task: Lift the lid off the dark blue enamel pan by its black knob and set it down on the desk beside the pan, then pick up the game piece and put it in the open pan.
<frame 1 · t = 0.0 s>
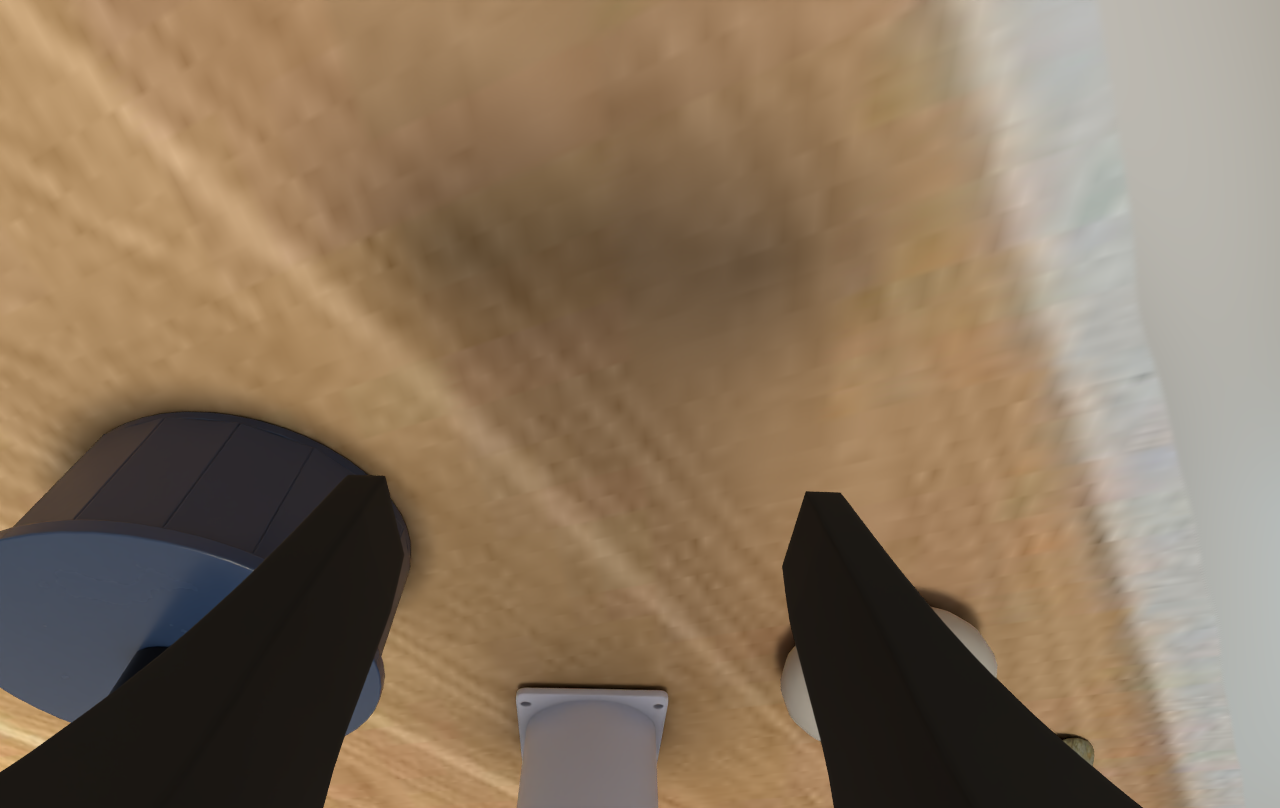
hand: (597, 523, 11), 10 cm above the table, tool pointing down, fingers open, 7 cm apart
donut: (873, 645, 32), on the table
pan lid: (182, 651, 22), point 5 cm above the table, touching pan
soupspoon: (917, 789, 43), on the table
pan: (254, 530, 26), on the table
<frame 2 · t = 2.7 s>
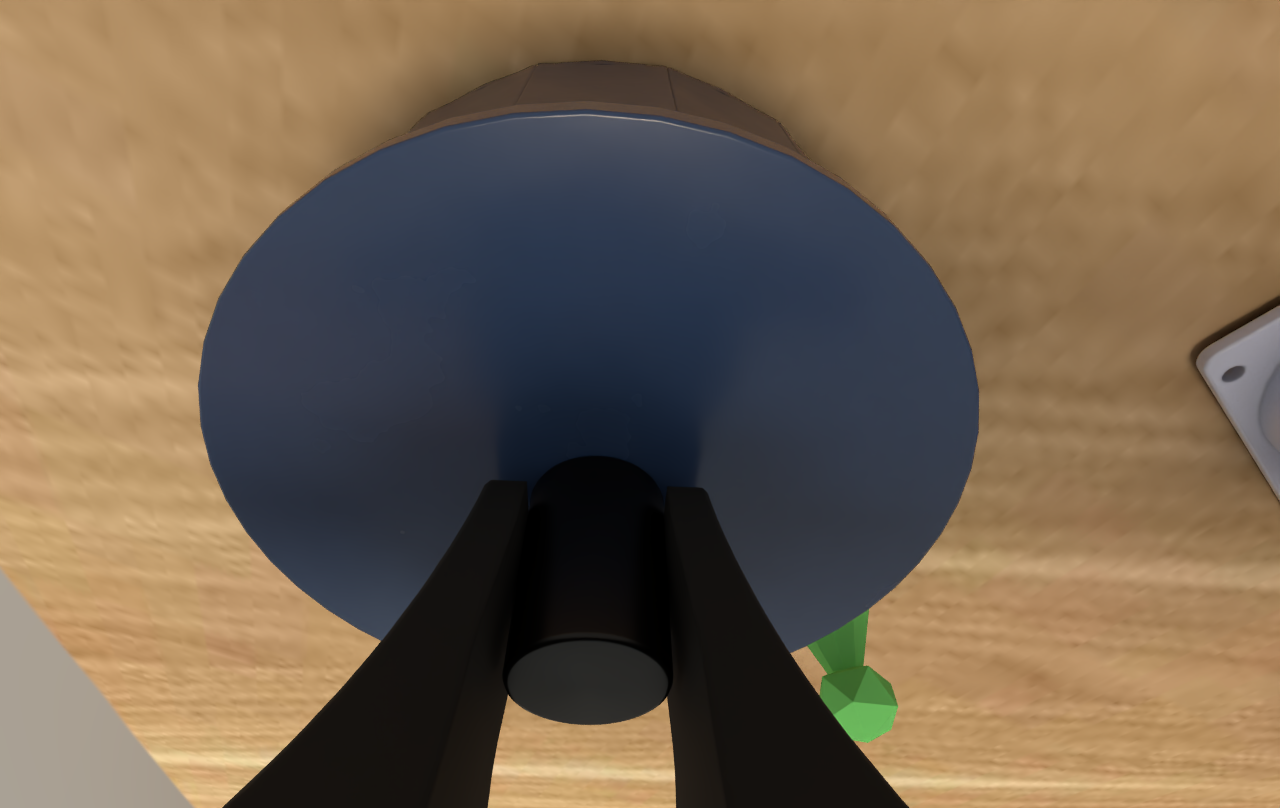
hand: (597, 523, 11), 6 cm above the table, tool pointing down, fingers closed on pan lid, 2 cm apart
game piece: (814, 559, 22), on the table
pan lid: (598, 482, 12), point 5 cm above the table, touching gripper, pan
pan: (606, 331, 16), on the table
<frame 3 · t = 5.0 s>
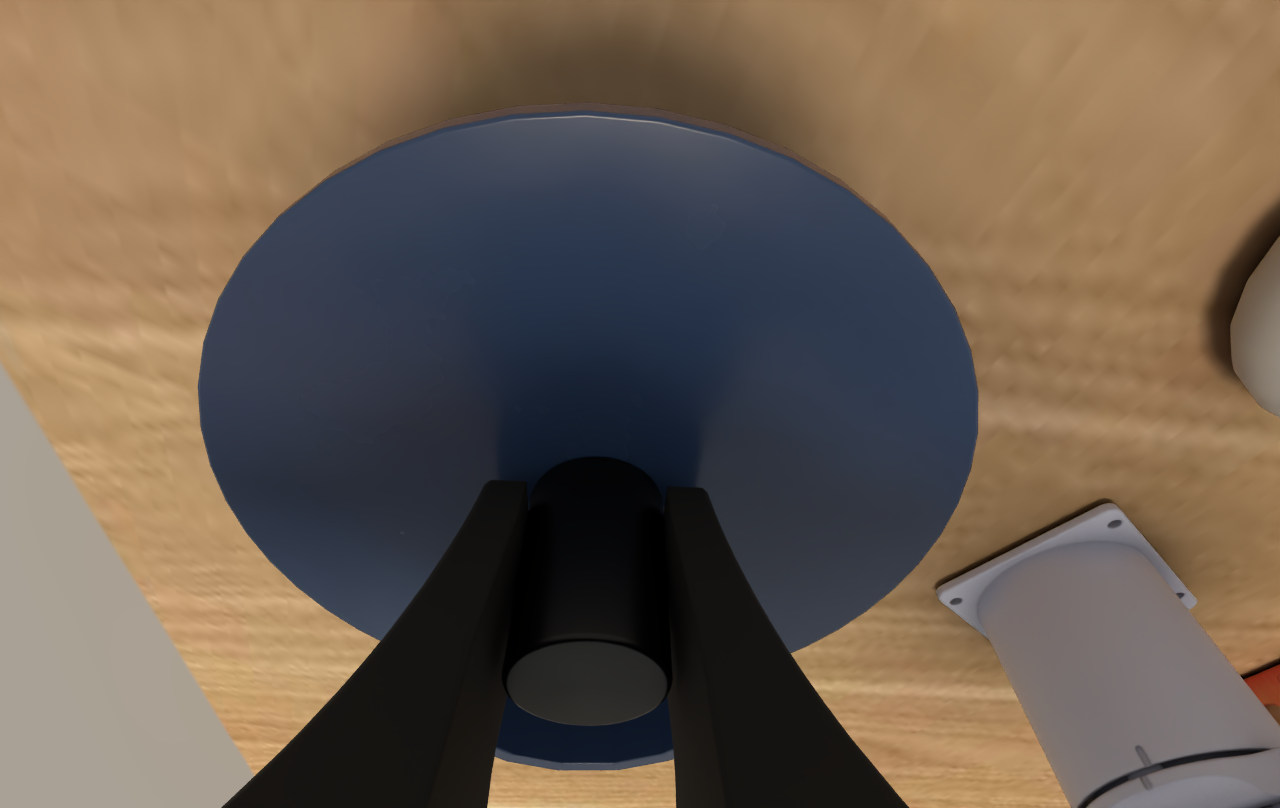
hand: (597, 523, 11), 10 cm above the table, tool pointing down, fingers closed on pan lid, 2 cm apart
pan lid: (597, 483, 12), point 9 cm above the table, touching gripper
cracker box: (1229, 699, 36), on the table
pan: (591, 579, 29), on the table
when the fingers open (2 cm above the table, at t = 7.3 s): pan lid stays where it is, point 1 cm above the table.
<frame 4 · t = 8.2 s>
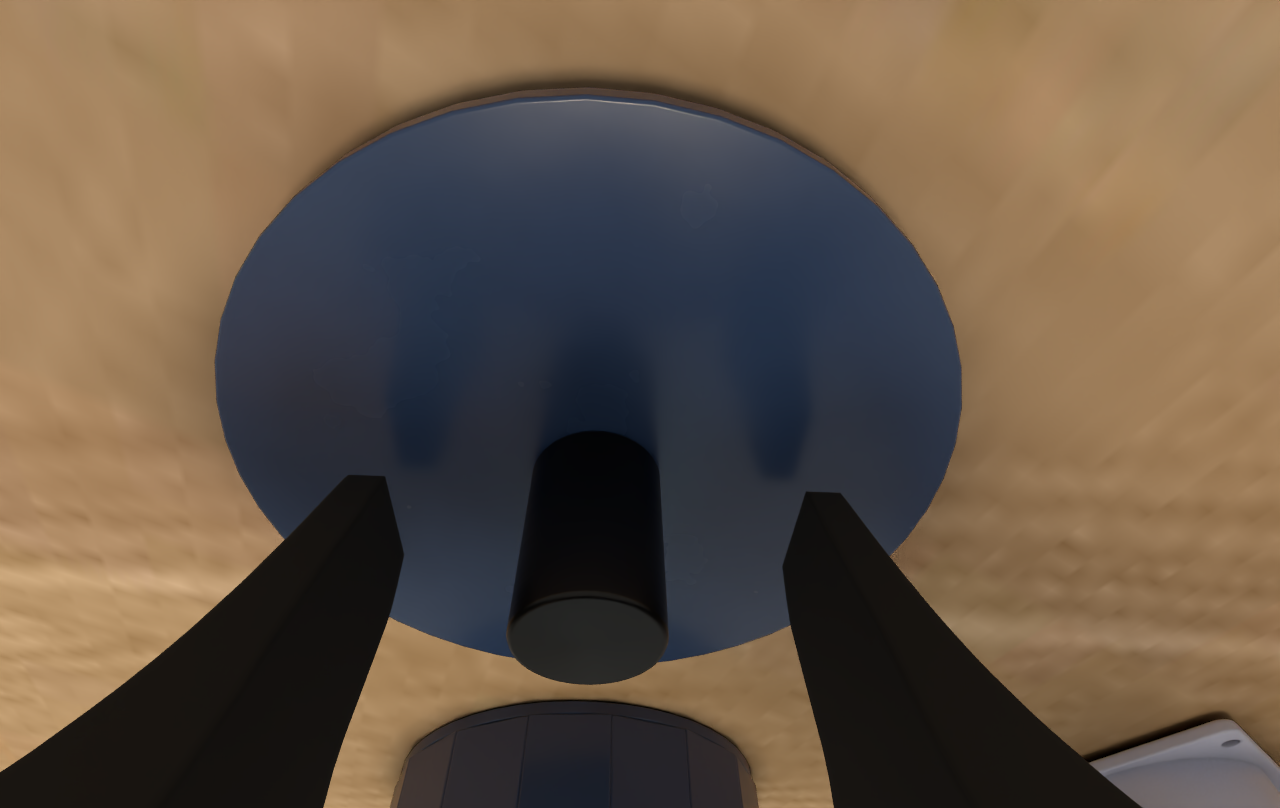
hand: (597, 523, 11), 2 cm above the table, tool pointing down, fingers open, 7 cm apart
pan lid: (597, 459, 13), point 1 cm above the table
pan: (578, 786, 23), on the table
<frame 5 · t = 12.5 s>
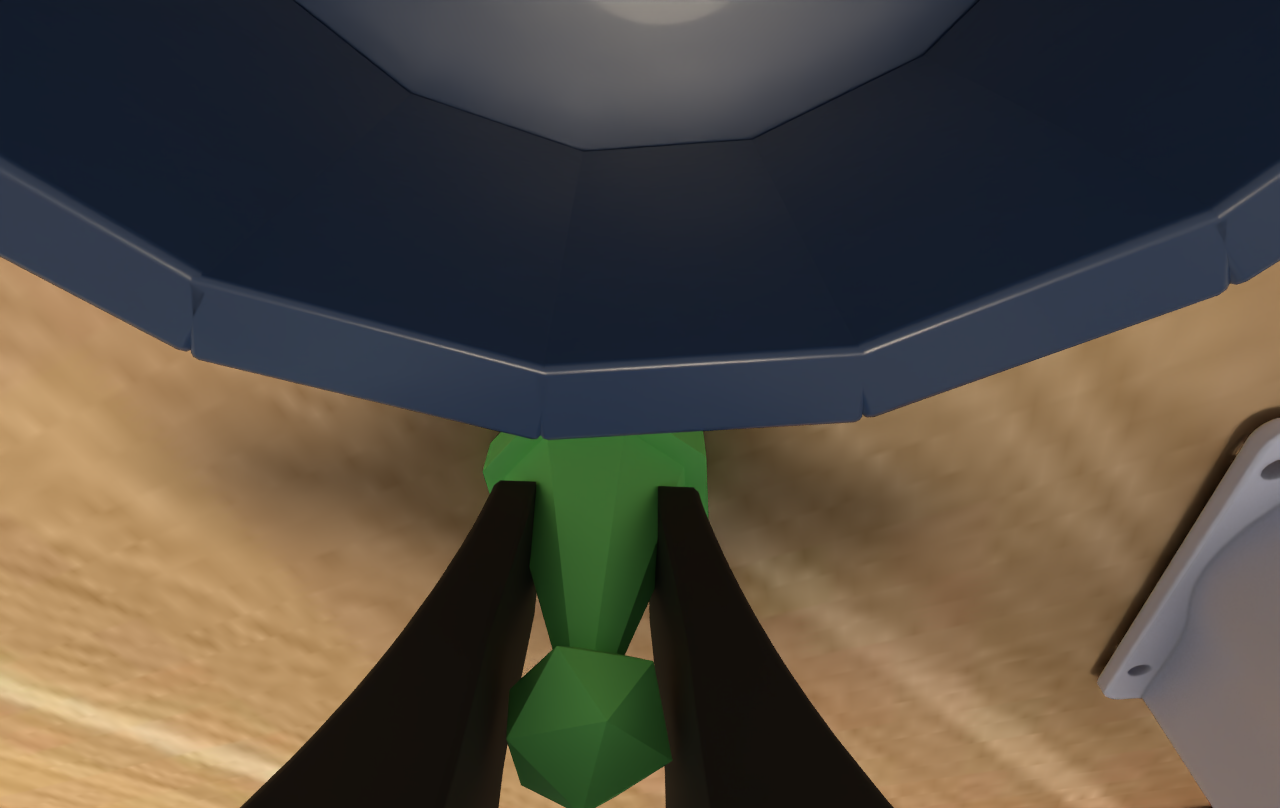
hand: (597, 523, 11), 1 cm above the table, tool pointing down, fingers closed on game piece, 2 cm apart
game piece: (601, 461, 13), on the table, touching gripper
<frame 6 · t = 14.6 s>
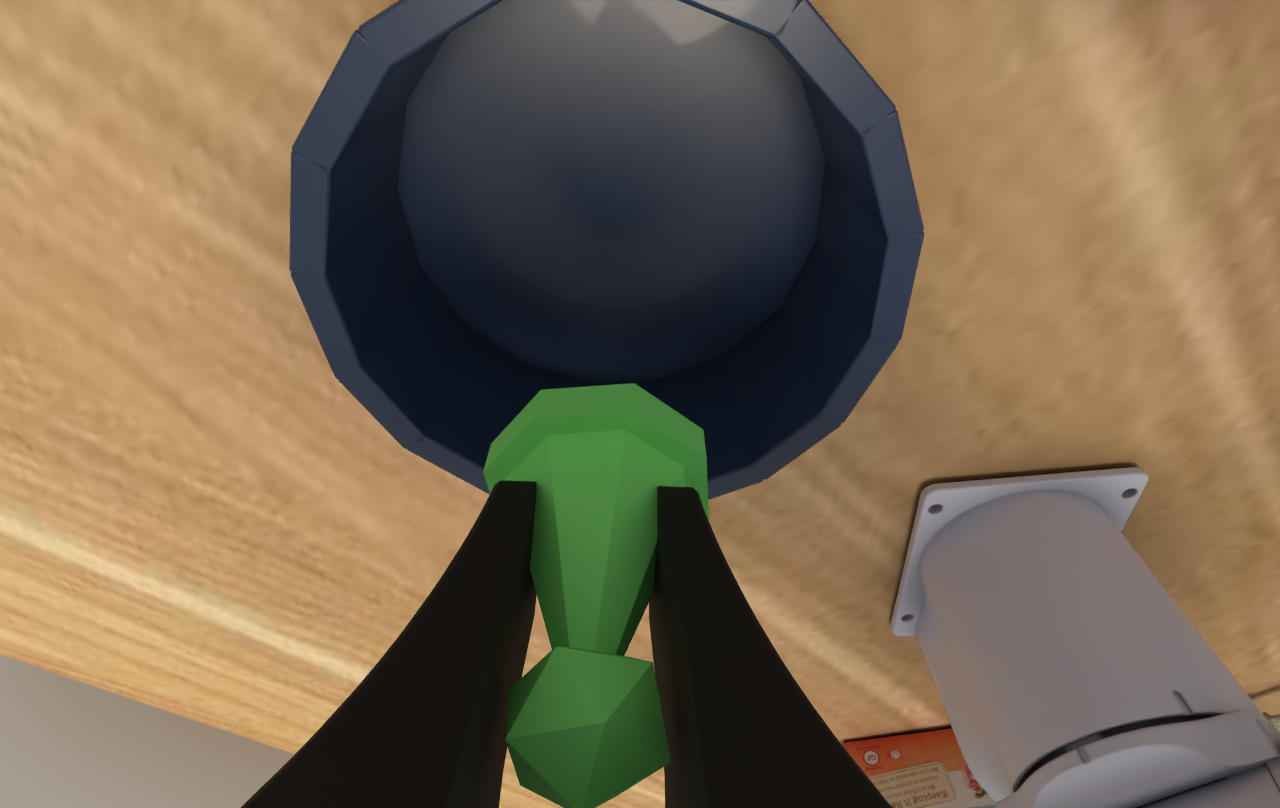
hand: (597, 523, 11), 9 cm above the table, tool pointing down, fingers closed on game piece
game piece: (602, 461, 13), point 8 cm above the table, touching gripper
cracker box: (963, 739, 37), on the table
pan: (613, 209, 18), on the table
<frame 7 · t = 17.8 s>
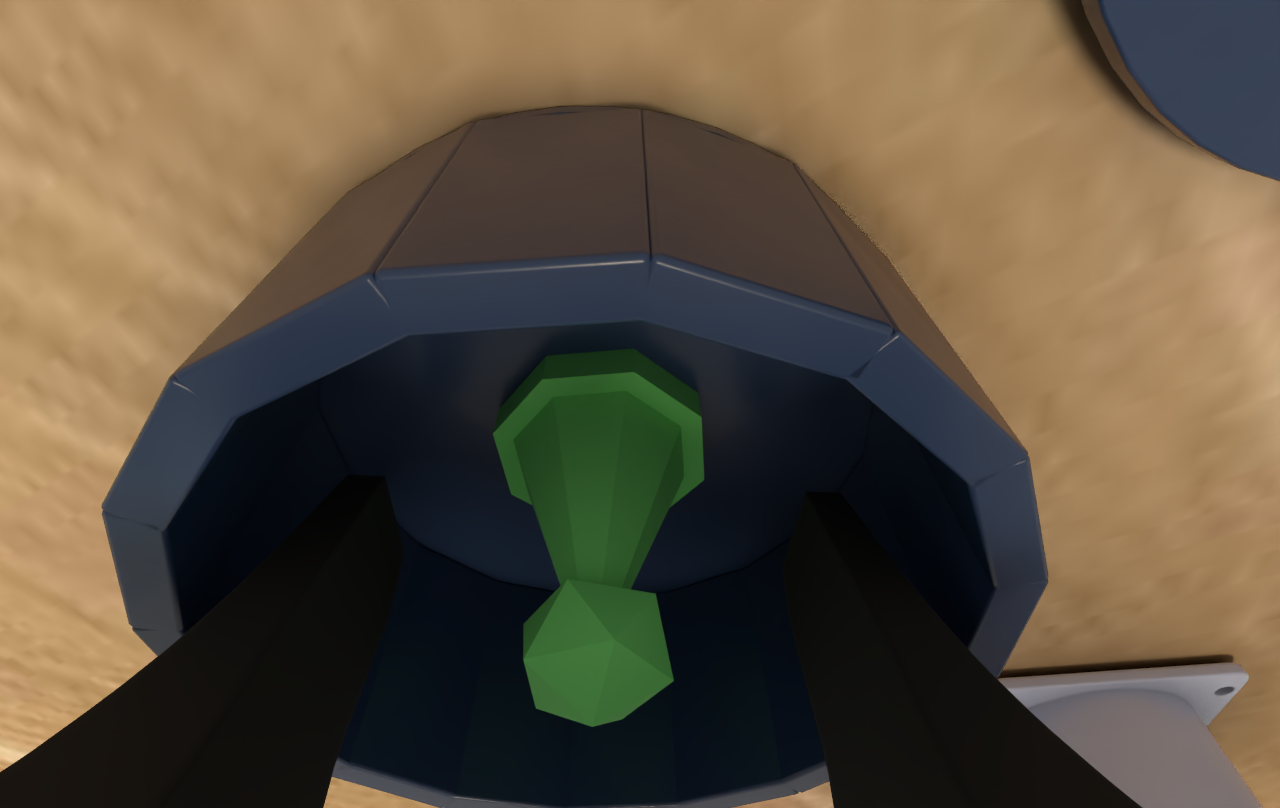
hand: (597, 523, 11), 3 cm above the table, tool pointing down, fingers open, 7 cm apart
game piece: (603, 426, 13), resting on pan
pan: (601, 419, 14), on the table
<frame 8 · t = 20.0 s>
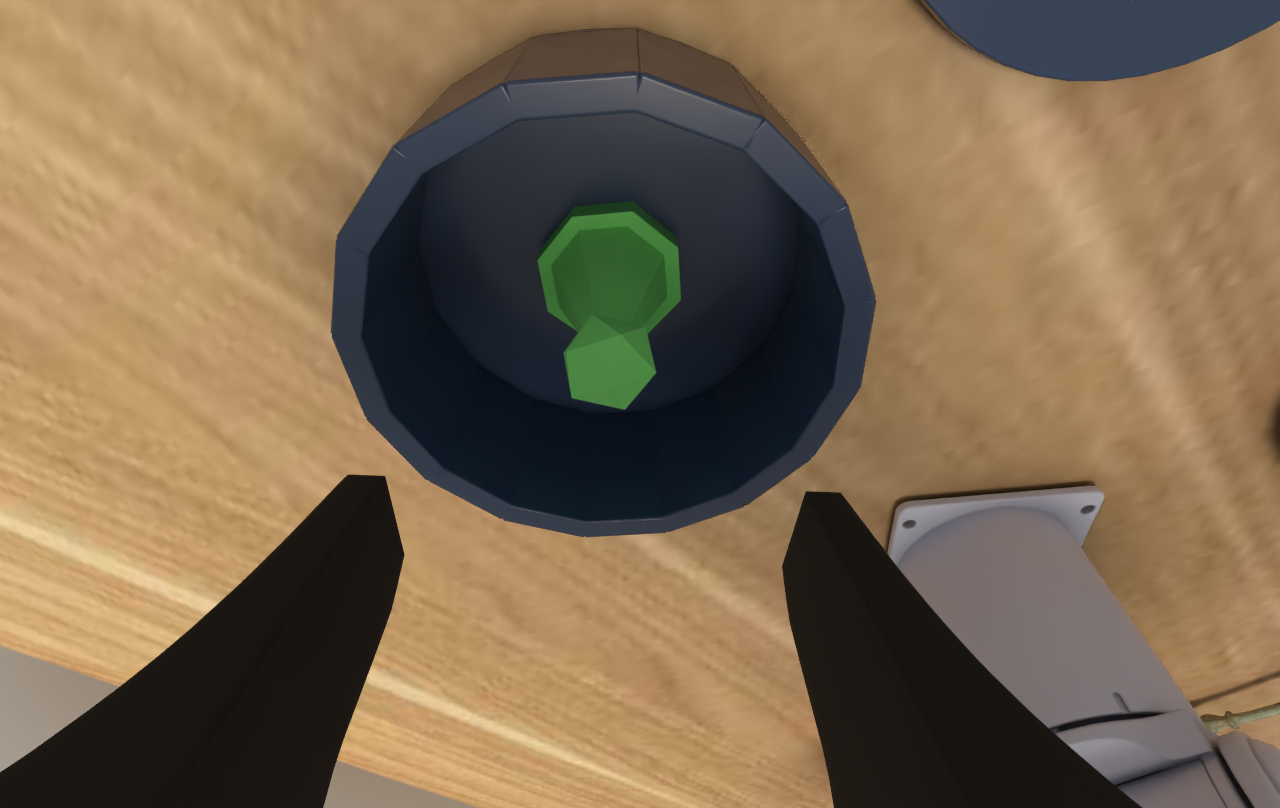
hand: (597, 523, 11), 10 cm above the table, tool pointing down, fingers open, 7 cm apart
game piece: (611, 265, 19), resting on pan
pan: (610, 262, 20), on the table
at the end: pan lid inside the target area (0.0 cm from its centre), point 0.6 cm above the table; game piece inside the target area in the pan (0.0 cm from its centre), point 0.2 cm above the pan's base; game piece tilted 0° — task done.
